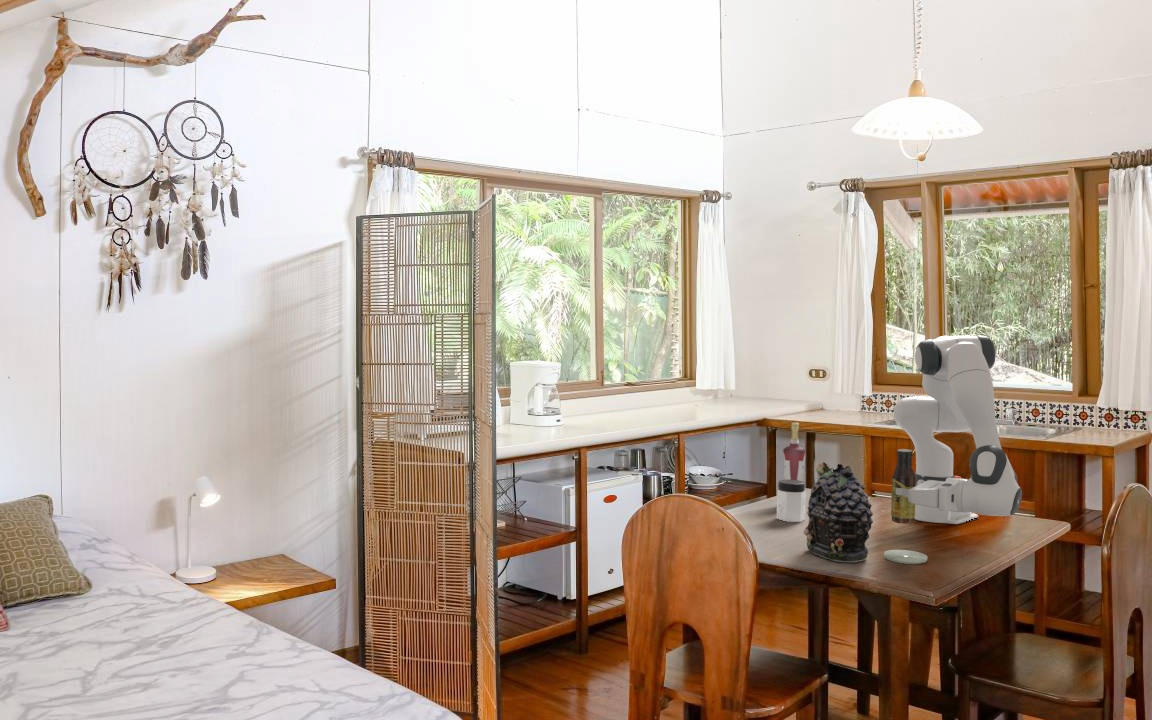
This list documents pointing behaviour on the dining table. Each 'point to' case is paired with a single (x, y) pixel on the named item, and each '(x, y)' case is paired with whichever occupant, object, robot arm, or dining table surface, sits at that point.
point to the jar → (791, 500)
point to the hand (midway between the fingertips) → (900, 489)
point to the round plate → (905, 556)
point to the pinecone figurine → (838, 515)
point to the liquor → (794, 457)
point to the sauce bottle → (903, 479)
